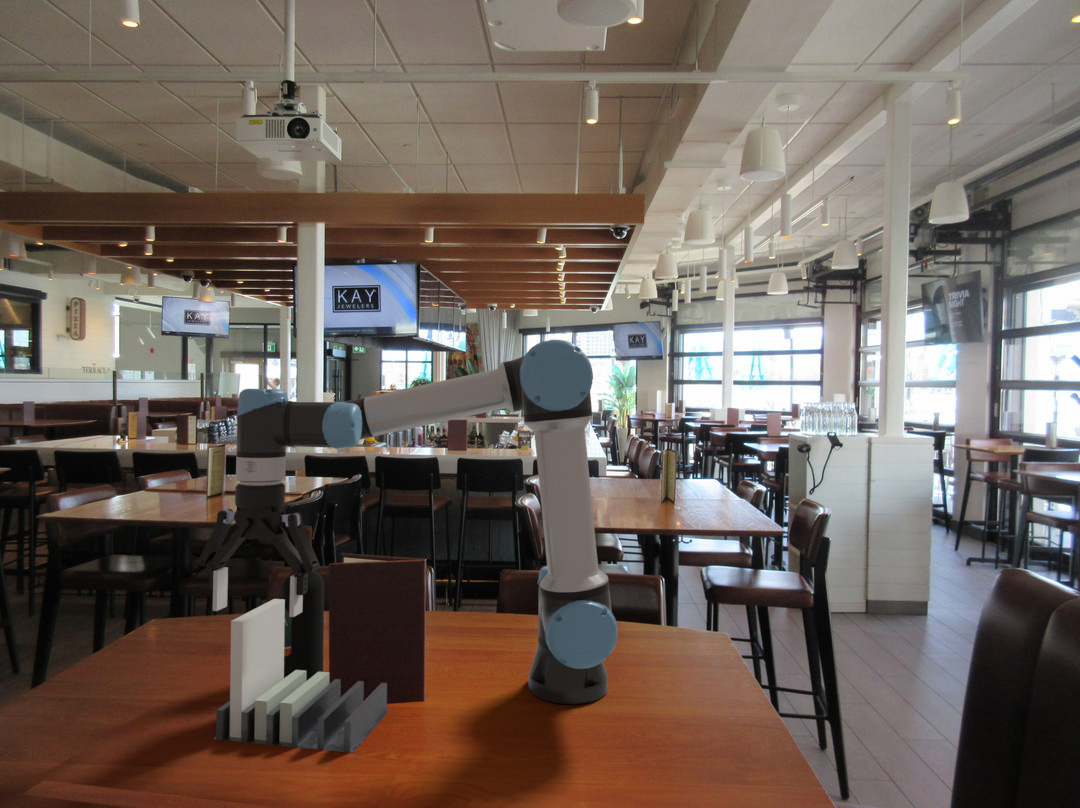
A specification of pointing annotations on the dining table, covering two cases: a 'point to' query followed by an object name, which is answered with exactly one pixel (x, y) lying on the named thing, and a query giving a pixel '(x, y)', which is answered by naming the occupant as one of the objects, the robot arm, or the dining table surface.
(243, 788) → the dining table surface
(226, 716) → the rack
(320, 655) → the wine bottle
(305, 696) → the offcut
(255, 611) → the tall sheet
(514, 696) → the dining table surface
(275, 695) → the offcut
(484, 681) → the dining table surface
